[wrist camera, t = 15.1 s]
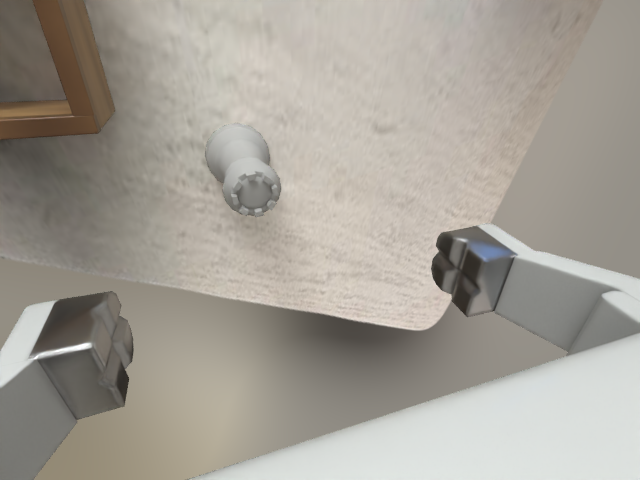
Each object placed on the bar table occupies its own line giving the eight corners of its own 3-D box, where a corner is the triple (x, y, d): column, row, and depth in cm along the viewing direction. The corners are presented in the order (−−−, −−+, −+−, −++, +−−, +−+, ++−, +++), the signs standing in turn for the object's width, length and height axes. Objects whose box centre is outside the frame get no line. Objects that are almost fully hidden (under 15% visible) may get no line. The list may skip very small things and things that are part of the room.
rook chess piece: (237, 193, 27) (255, 246, 20) (190, 152, 24) (193, 198, 18) (279, 153, 26) (311, 194, 20) (235, 107, 24) (256, 137, 17)
